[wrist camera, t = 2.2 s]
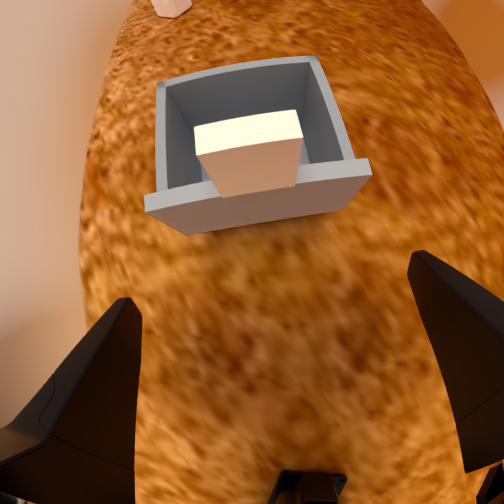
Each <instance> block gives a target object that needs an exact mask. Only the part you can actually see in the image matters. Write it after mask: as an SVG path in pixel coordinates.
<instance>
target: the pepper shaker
mask: <svg viewBox="0 0 504 504" xmlns="http://www.w3.org/2000/svg"><path fill="white" fill-rule="evenodd" d="M151 2H152V4H153V6H154V8H155V11H156V13H157V15H158V16H160V17H170V18H175V17H178V16H179V15H181V14H182V13H183V12H185V11H186V10H187V9H189V8H190V7H191V6H192V2H191V0H151Z"/></svg>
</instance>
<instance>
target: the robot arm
mask: <svg viewBox="0 0 504 504" xmlns="http://www.w3.org/2000/svg"><path fill="white" fill-rule="evenodd" d="M407 276H408V280H409V283H410V286H411V289H412V292H413V295H414V298H415V301H416V304H417V307H418V311H419V314H420V317H421V319H422V322H423V324H424V327H425V329H426V332H427V335H428V337H429V340H430V342H431V345H432V348H433V350H434V353H435V356H436V359H437V362H438V365H439V368H440V371H441V374H442V377H443V380H444V383H445V386H446V390H447V393H448V397H449V400H450V404H451V408H452V411H453V415H454V419H455V423H456V428H457V433H458V437H459V442H460V447H461V453H462V458H463V464H464V470H465V474H466V473H469V472H472V471H475V470H478V469H481V468H484V467H486V466H489V465H491V464H494V463H496V462H498V463H497V464H496V465H494V466H493V467H491V468H490V469H489V471H488V473H487V476H486V478H485V480H484V482H483V484H482V486H481V488H480V490H479V492H478V494H477V496H476V501H477V504H504V301H502V300H501V299H499V298H498V297H497V296H495V295H494V294H492V293H491V292H489V291H488V290H487V289H485V288H484V287H482V286H481V285H479V284H478V283H476V282H475V281H473V280H472V279H470V278H469V277H467V276H466V275H464V274H463V273H461V272H459V271H458V270H456V269H455V268H453V267H452V266H450V265H448V264H447V263H445V262H443V261H442V260H440V259H439V258H437V257H435V256H434V255H432V254H430V253H429V252H427V251H425V250H420V251H415V252H413V253H412V255H411V259H410V263H409V267H408V271H407ZM141 346H142V315H141V312H140V311H139V309H138V308H137V306H136V305H135V303H134V301H133V300H132V299H131V298H130V297H122V298H118V299H117V300H116V301H115V302H114V303H113V305H112V306H111V307H110V308H109V309H108V310H107V311H106V312H105V313H104V314H103V315H102V317H101V318H100V319H99V320H98V321H97V322H96V323H95V324H94V326H93V327H92V328H91V329H90V330H89V331H88V332H87V333H86V335H85V336H84V337H83V338H82V339H81V340H80V342H79V343H78V344H77V345H76V346H75V347H74V349H73V350H72V351H71V352H70V354H69V355H68V356H67V357H66V358H65V359H64V361H63V362H62V363H61V364H60V365H59V367H58V368H57V369H56V370H55V373H53V374H52V375H51V377H50V378H49V379H48V380H47V382H46V383H45V384H44V385H43V386H42V388H41V389H40V390H39V391H38V392H37V394H36V395H35V396H34V397H33V398H32V399H31V401H30V402H29V403H28V404H27V405H26V406H25V407H24V408H23V410H22V411H21V412H20V413H19V414H18V415H17V416H16V417H15V419H14V420H13V421H12V422H11V423H9V424H8V425H7V426H5V427H2V428H0V504H135V471H134V456H135V427H136V410H137V397H138V386H139V376H140V366H141ZM499 461H500V462H499ZM283 475H287V476H283ZM341 479H342V480H341ZM346 482H347V476H346V475H340V474H319V473H306V472H296V471H287V470H284V471H282V472H280V474H279V477H278V479H277V482H276V484H275V486H274V489H273V491H272V493H271V496H270V498H269V500H268V502H267V504H339V499H338V496H339V494H340V493H341V491H342V489H343V487H344V485H345V484H346Z"/></svg>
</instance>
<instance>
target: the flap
mask: <svg viewBox="0 0 504 504" xmlns="http://www.w3.org/2000/svg"><path fill="white" fill-rule="evenodd" d="M194 134H195V147H196V156H197V158H198V159H199V161H200V162H201V164H202V166H203V167H204V169H205V171H206V172H207V174H208V176H209V177H210V179H211V180H209V181H204V182H199V183H194V184H190V185H185V186H181V187H176V188H172V189H168V190H164V191H159V192H155V193H151V194H147V195H144V199H145V212H146V213H148V214H149V215H151V216H153V217H154V218H156V219H158V220H160V221H161V222H163V223H165V224H167V225H168V226H170V227H172V228H174V229H175V230H177V231H179V232H181V233H182V234H184V235H186V236H187V235H193V234H198V233H204V232H209V231H215V230H221V229H227V228H232V227H238V226H244V225H250V224H256V223H262V222H269V221H275V220H281V219H287V218H294V217H300V216H307V215H314V214H320V213H327V212H334V211H341V210H343V209H344V208H345V207H346V205H347V204H348V203H349V202H350V201H351V200H352V198H353V197H354V196H355V195H356V194H357V192H358V191H359V190H360V189H361V188H362V187H363V185H364V184H365V183H366V182H367V181H368V179H369V178H370V177H371V176H372V172H371V168H370V165H369V162H368V158H363V159H352V160H341V161H332V162H323V163H314V164H306V165H299V160H300V154H301V148H302V142H303V134H302V131H301V127H300V123H299V120H298V116H297V113H296V110H287V111H279V112H271V113H264V114H257V115H251V116H245V117H239V118H234V119H229V120H224V121H219V122H214V123H209V124H205V125H200V126H196V127H194Z"/></svg>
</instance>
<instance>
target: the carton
mask: <svg viewBox="0 0 504 504" xmlns="http://www.w3.org/2000/svg"><path fill="white" fill-rule="evenodd" d="M287 110H296V113H297V116H298V120H299V123H300V127H301V131H302V134H303V142H302V148H301V154H300V160H299V165H306V164H314V163H323V162H332V161H341V160H352V159H355V157H354V153H353V150H352V147H351V144H350V141H349V138H348V135H347V132H346V129H345V126H344V123H343V120H342V117H341V115H340V112H339V109H338V106H337V104H336V101H335V99H334V96H333V93H332V91H331V88H330V86H329V84H328V81H327V79H326V76H325V74H324V72H323V69H322V67H321V65H320V63H319V60H318V58H317V56H298V57H285V58H275V59H266V60H258V61H251V62H245V63H239V64H233V65H228V66H222V67H217V68H213V69H208V70H204V71H199V72H195V73H191V74H187V75H184V76H180V77H176V78H173V79H169V80H166V81H163V82H159V83H157V94H156V135H155V144H156V187H157V192H159V191H164V190H168V189H172V188H176V187H181V186H185V185H190V184H194V183H199V182H204V181H209V180H211V179H210V177H209V176H208V174H207V172H206V171H205V169H204V167H203V166H202V164H201V162H200V161H199V159H198V158H197V156H196V147H195V134H194V127H196V126H200V125H205V124H209V123H214V122H219V121H224V120H229V119H234V118H239V117H245V116H251V115H257V114H264V113H271V112H279V111H287Z"/></svg>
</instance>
